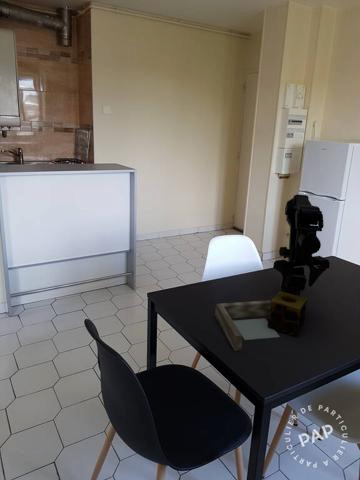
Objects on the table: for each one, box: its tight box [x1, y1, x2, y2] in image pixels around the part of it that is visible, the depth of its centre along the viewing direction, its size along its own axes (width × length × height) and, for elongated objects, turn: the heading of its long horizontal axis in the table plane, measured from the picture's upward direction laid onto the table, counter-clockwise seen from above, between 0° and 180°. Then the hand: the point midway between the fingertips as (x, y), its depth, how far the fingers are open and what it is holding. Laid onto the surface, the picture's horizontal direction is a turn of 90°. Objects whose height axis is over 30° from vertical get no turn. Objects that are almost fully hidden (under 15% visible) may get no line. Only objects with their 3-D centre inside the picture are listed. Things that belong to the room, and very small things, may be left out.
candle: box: [267, 290, 308, 337], centre depth 125 cm, size 10×10×10 cm
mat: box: [233, 318, 281, 341], centre depth 124 cm, size 12×12×1 cm
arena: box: [214, 299, 271, 351], centre depth 123 cm, size 20×21×5 cm
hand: (298, 287), depth 126 cm, fingers open, 9 cm apart
